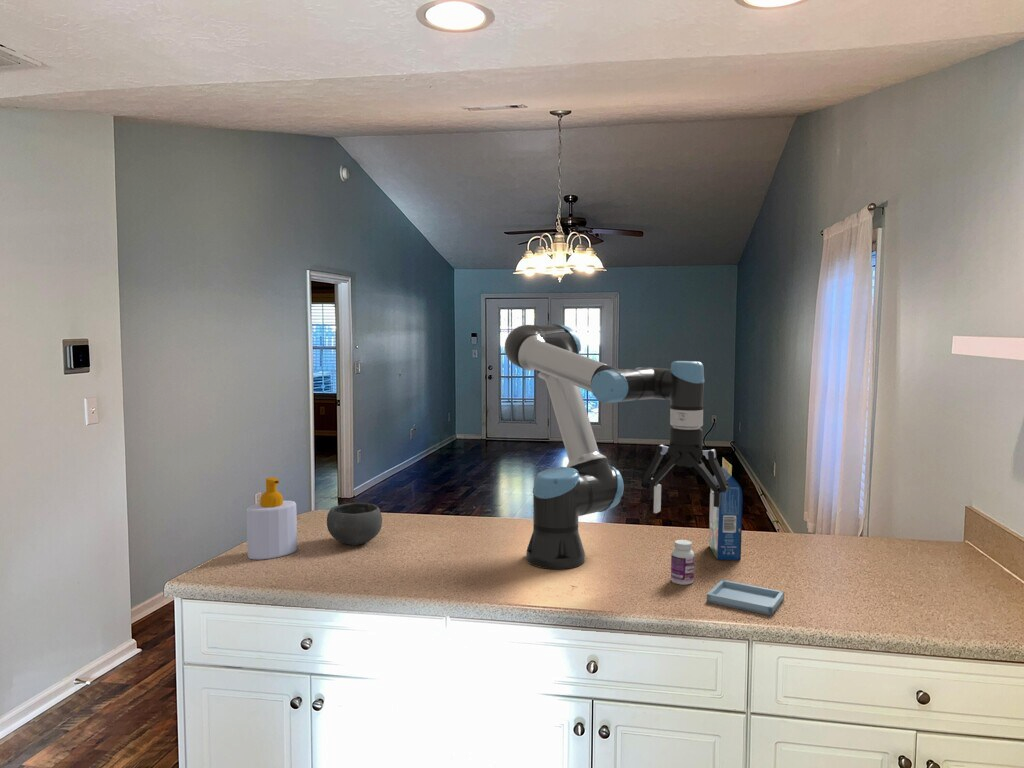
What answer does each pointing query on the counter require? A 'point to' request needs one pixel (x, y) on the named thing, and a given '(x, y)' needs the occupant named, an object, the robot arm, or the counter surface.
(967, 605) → the counter surface
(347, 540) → the bowl
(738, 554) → the blue food package
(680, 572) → the pill bottle
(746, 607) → the tray
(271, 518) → the soap bottle
